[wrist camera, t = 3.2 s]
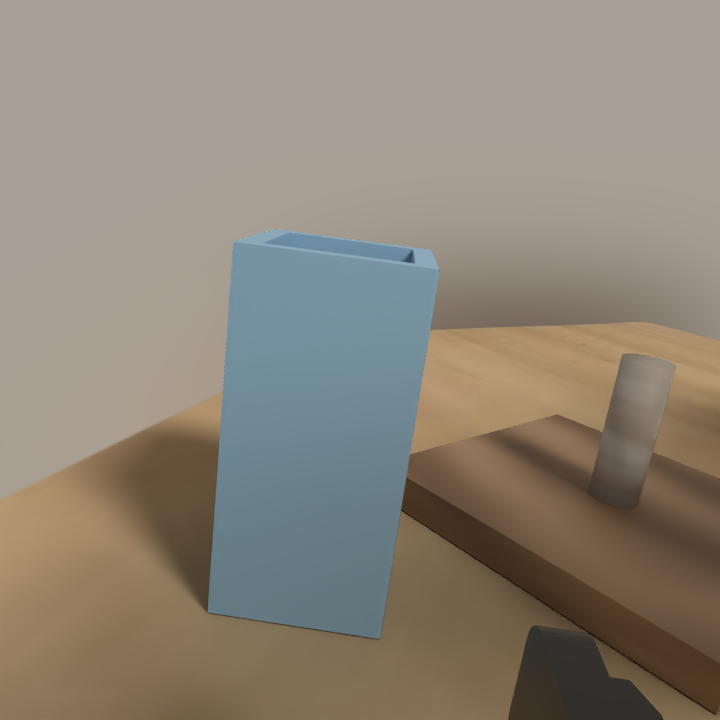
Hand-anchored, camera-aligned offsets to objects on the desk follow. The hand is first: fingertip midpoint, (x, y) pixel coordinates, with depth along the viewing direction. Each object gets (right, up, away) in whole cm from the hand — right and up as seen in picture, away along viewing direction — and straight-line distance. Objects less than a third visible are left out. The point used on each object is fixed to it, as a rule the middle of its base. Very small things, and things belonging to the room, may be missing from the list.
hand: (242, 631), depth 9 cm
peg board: (+12, -3, +18) cm, 22 cm away
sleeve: (0, -3, +12) cm, 13 cm away
